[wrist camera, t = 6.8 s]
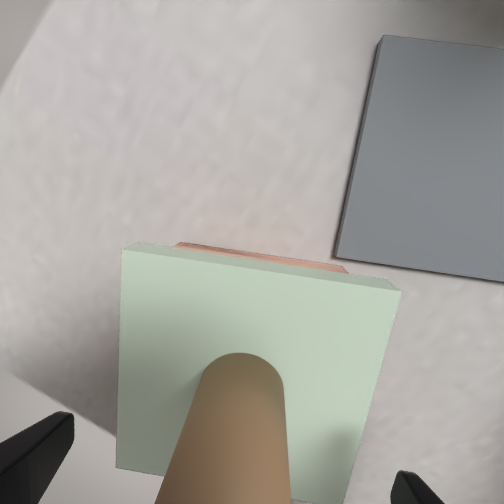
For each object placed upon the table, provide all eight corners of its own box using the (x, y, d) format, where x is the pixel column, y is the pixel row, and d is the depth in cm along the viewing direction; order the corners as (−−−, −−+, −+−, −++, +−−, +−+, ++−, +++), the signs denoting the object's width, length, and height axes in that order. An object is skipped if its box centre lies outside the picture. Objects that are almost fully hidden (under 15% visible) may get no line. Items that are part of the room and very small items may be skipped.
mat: (607, 68, 11) (623, 63, 10) (525, 282, 13) (535, 286, 12) (378, 41, 11) (383, 34, 11) (334, 254, 13) (336, 257, 13)
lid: (386, 279, 10) (575, 425, 4) (334, 476, 12) (402, 778, 6) (138, 242, 10) (-60, 321, 4) (130, 440, 12) (-10, 692, 6)
